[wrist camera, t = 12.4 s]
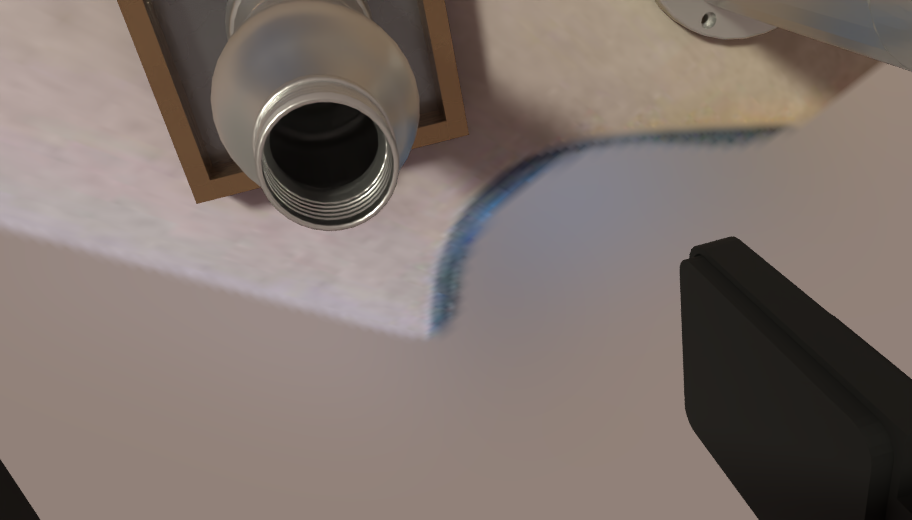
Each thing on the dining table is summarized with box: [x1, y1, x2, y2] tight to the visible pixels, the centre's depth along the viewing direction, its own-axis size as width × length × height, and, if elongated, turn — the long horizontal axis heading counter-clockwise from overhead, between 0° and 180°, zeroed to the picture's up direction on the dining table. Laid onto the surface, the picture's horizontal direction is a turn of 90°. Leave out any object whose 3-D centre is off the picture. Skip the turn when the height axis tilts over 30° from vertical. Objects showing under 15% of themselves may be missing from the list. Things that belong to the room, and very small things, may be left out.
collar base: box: [117, 0, 469, 204], centre depth 36 cm, size 14×14×4 cm
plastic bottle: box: [211, 0, 420, 231], centre depth 28 cm, size 6×7×20 cm
